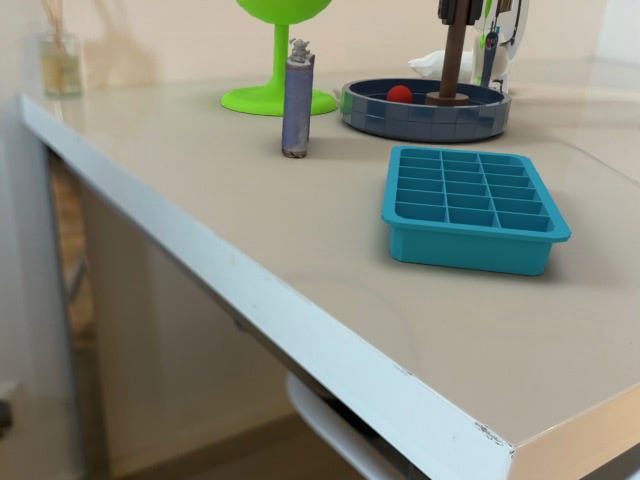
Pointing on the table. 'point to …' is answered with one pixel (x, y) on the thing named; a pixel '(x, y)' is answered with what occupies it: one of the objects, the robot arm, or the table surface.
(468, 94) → the bowl
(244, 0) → the wineglass
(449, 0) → the robot arm
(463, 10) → the wooden towel stand
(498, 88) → the beer glass
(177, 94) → the table surface
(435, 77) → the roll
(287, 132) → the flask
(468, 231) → the ice cube tray
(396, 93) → the cherry tomato
